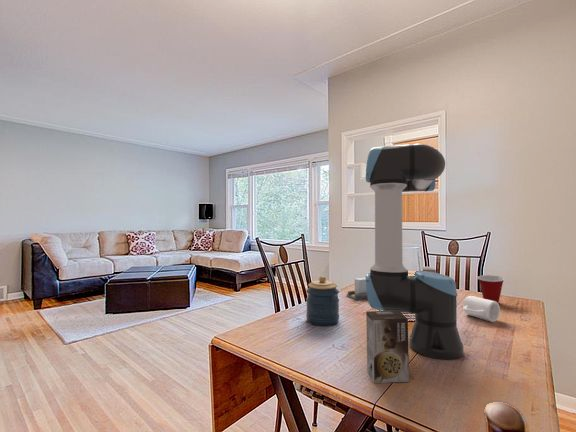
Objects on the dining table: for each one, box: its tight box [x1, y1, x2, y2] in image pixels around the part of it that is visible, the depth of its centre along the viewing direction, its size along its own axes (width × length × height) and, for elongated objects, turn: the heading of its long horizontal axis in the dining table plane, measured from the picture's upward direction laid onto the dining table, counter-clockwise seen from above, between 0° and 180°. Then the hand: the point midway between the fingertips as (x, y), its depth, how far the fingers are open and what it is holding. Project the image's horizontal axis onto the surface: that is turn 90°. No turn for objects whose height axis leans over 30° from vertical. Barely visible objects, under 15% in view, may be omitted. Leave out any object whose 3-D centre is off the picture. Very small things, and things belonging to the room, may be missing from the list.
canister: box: [305, 275, 340, 327], centre depth 120 cm, size 13×13×18 cm
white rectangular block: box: [354, 277, 367, 294], centre depth 156 cm, size 9×4×8 cm, turn 113°
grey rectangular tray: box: [346, 290, 368, 301], centre depth 156 cm, size 17×8×2 cm, turn 113°
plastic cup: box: [476, 274, 505, 304], centre depth 144 cm, size 11×11×12 cm
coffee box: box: [365, 310, 410, 384], centre depth 79 cm, size 9×6×16 cm
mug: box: [462, 295, 501, 323], centre depth 121 cm, size 12×10×8 cm
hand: (390, 254), depth 147 cm, fingers closed
